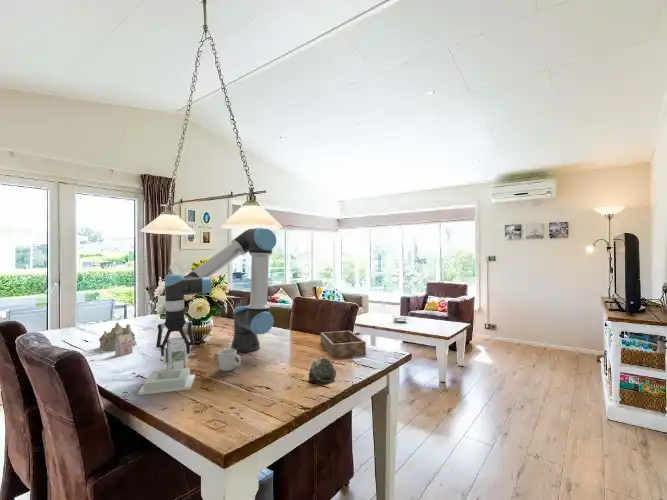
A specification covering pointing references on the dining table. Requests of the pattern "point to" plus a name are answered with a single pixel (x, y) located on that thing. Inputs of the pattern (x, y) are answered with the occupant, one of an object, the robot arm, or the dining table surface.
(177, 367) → the syrup box
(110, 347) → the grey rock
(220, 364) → the cup
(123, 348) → the tea bag
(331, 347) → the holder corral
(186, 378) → the white tray
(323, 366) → the fossil
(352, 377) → the dining table surface
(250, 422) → the dining table surface
